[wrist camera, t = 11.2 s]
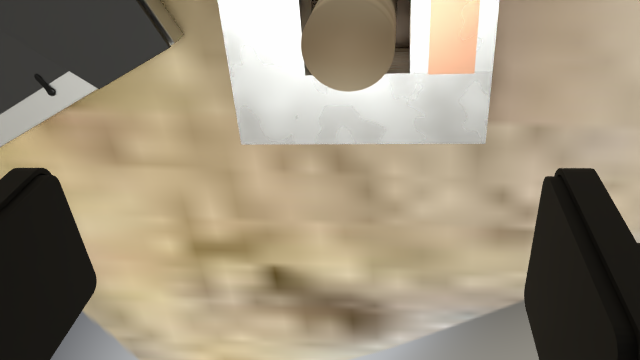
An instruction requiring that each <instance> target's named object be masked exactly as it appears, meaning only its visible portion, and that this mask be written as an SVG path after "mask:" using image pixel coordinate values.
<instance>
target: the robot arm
mask: <svg viewBox="0 0 640 360" xmlns="http://www.w3.org/2000/svg"><path fill="white" fill-rule="evenodd" d="M95 288H96V274H95V272H94V269H93V266H92V264H91V261H90V259H89V256H88V254H87V251H86V248H85V246H84V243H83V241H82V238H81V236H80V233H79V231H78V228H77V225H76V223H75V220H74V218H73V215H72V213H71V210H70V207H69V205H68V202H67V200H66V197H65V195H64V192H63V189H62V187H61V184H60V182H59V180H58V178H57V177H55V176H53V175H51V173H50V172H49V171H48V170H47V169H44V168H14V169H12V170H11V171H9V172H8V173H7V174H6V175H5V176H4V177H3V178H2V179H0V360H50V359H51V357H52V356H53V354H54V353H55V351H56V350H57V348H58V347H59V345H60V344H61V342H62V340H63V339H64V337H65V336H66V334H67V333H68V331H69V330H70V328H71V327H72V325H73V324H74V322H75V321H76V319H77V318H78V316H79V314H80V313H81V311H82V310H83V308H84V307H85V305H86V304H87V302H88V301H89V299H90V298H91V296H92V295H93V293H94V291H95ZM524 299H525V307H526V311H527V315H528V318H529V323H530V326H531V330H532V334H533V337H534V341H535V345H536V349H537V353H538V356H539V360H640V243H637V242H636V241H635V239H634V237H633V235H632V234H631V232H630V230H629V228H628V227H627V225H626V223H625V221H624V220H623V218H622V216H621V214H620V213H619V211H618V209H617V207H616V206H615V204H614V202H613V200H612V199H611V197H610V195H609V193H608V192H607V190H606V188H605V186H604V185H603V183H602V181H601V180H600V178H599V176H598V174H597V173H596V171H595V170H594V169H591V168H559V169H558V170H557V171H556V173H555V176H554V177H552V176H546V177H545V179H544V181H543V186H542V192H541V197H540V203H539V209H538V215H537V220H536V226H535V232H534V237H533V243H532V249H531V255H530V260H529V266H528V272H527V278H526V283H525V290H524Z"/></svg>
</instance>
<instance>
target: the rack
mask: <svg viewBox="0 0 640 360" xmlns="http://www.w3.org/2000/svg"><path fill="white" fill-rule="evenodd" d="M499 1H500V0H410V19H409V48H399V49H395V53H394V58H393V61H392V64H391V66H390V68H389V70H388V71H387V73H386V74H385V75H384V76H383V77H382V78H381V79H380V80H379V81H378V82H377V83H375V84H374V85H372V86H370V87H368V88H366V89H363V90H359V91H351V92H346V91H338V90H335V89H332V88H329V87H327V86H325V85H324V84H322V83H321V82H319V81H318V80H317V79H316V78H315V77H314V76H313V75H312V74H311V73H310V71H309V70H308V68H307V67H306V65H305V62H304V60H303V57H302V52H301V37H302V33H303V30H304V27H305V25H306V23H307V21H308V19H309V17H310V15H311V13H312V3H311V0H218V6H219V12H220V18H221V24H222V30H223V36H224V42H225V48H226V54H227V60H228V67H229V73H230V79H231V85H232V91H233V97H234V103H235V109H236V115H237V121H238V127H239V133H240V139H241V144H485V142H486V132H487V122H488V112H489V102H490V92H491V82H492V72H493V62H494V51H495V41H496V31H497V21H498V11H499Z"/></svg>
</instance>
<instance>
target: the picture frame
mask: <svg viewBox="0 0 640 360" xmlns="http://www.w3.org/2000/svg"><path fill="white" fill-rule="evenodd" d="M183 35H184V34H183V33H182V32H181V30H180V29H179V27H178V26H177V24H176V23H175V21H174V20H173V18H172V17H171V15H170V14H169V13H168V11H167V10H166V8H165V7H164V5H163V4H162V2H161V1H160V0H0V147H1V146H3V145H5V144H6V143H8V142H10V141H11V140H13V139H15V138H16V137H18V136H20V135H21V134H23V133H25V132H26V131H28V130H30V129H31V128H33V127H35V126H37V125H38V124H40V123H42V122H43V121H45V120H47V119H48V118H50V117H52V116H53V115H55V114H57V113H58V112H60V111H62V110H63V109H65V108H67V107H68V106H70V105H72V104H73V103H75V102H77V101H78V100H80V99H82V98H83V97H85V96H87V95H88V94H90V93H92V92H94V91H95V90H97V89H100V88H102V87H104V86H105V85H107V84H109V83H111V82H112V81H114V80H116V79H117V78H119V77H121V76H122V75H124V74H126V73H128V72H129V71H131V70H133V69H134V68H136V67H138V66H139V65H141V64H143V63H144V62H146V61H148V60H150V59H151V58H153V57H155V56H156V55H158V54H160V53H161V52H163V51H165V50H167V49H168V48H170V47H171V45H172V44H174V43H175V42H177V41H178V40H179V39H180V38H181V37H182V36H183Z"/></svg>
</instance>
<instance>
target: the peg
mask: <svg viewBox="0 0 640 360" xmlns="http://www.w3.org/2000/svg"><path fill="white" fill-rule="evenodd" d="M396 7H397V0H318V2H317V4H316V6H315V8H314V9H313V11H312V13H311V15H310V17H309V19H308V21H307V23H306V25H305V27H304V30H303V33H302V37H301V52H302V57H303V60H304V62H305V65H306V67H307V68H308V70H309V71H310V73H311V74H312V75H313V76H314V77H315V78H316V79H317V80H318V81H319V82H321V83H322V84H324V85H325V86H327V87H329V88H332V89H335V90H338V91H346V92H351V91H359V90H363V89H366V88H368V87H370V86H372V85H374V84H375V83H377V82H378V81H379V80H380V79H381V78H382V77H383V76H384V75H385V74H386V73H387V71H388V70H389V68H390V66H391V64H392V61H393V58H394V53H395V36H396Z"/></svg>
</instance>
